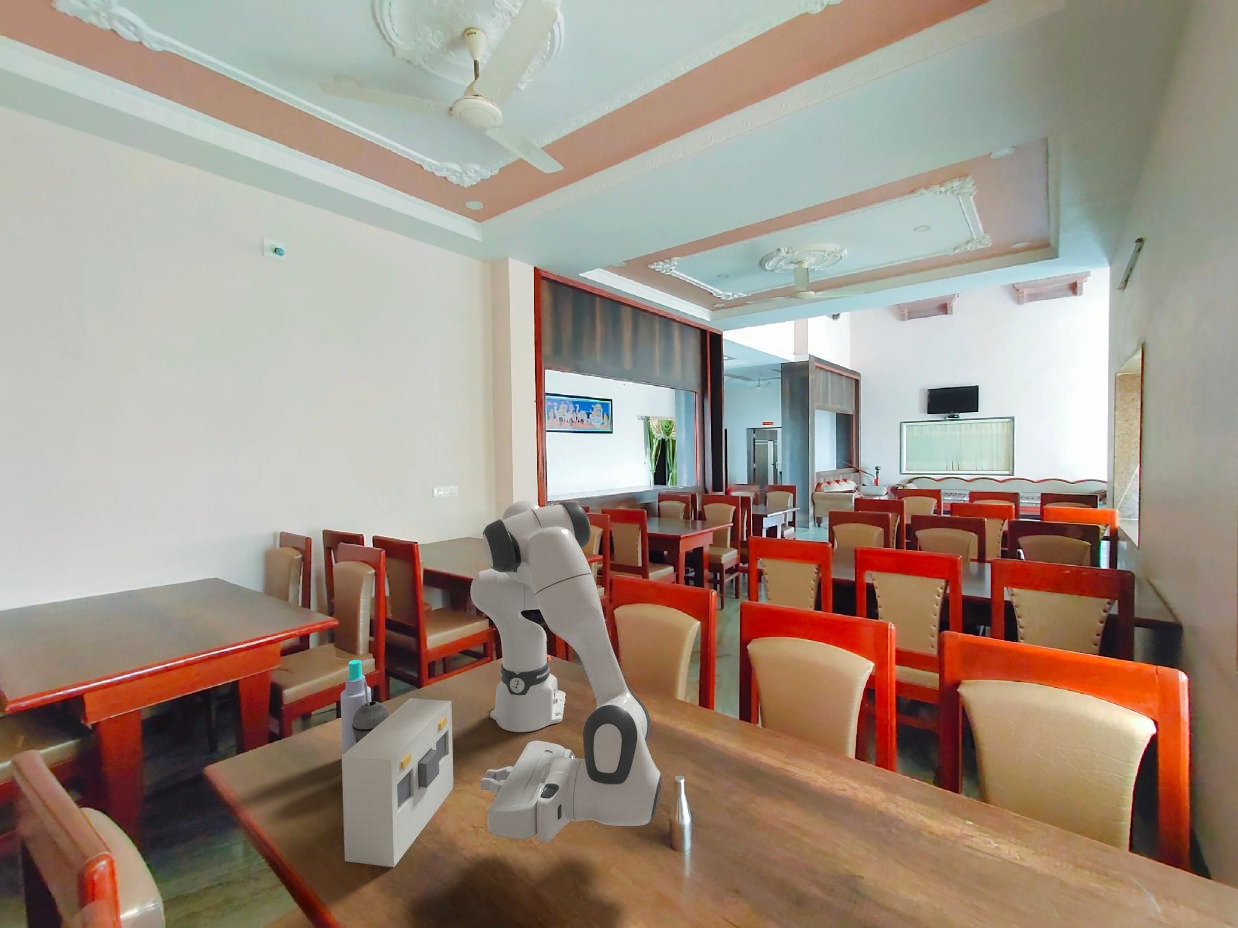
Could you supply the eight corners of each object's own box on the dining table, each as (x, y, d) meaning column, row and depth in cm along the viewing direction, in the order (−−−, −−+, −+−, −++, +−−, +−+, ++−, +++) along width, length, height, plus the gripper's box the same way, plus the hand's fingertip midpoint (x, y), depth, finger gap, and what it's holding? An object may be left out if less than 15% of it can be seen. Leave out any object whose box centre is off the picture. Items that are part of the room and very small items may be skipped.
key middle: (420, 771, 103) (420, 748, 103) (439, 773, 102) (438, 750, 102) (408, 785, 99) (407, 761, 99) (427, 787, 98) (426, 763, 98)
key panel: (412, 784, 113) (410, 698, 112) (455, 788, 111) (453, 701, 110) (344, 860, 92) (341, 755, 91) (396, 867, 90) (393, 760, 90)
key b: (428, 751, 110) (427, 729, 110) (445, 752, 109) (445, 731, 109) (416, 764, 105) (416, 741, 105) (434, 765, 105) (434, 743, 105)
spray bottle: (336, 763, 120) (333, 664, 119) (358, 749, 126) (356, 655, 125) (356, 769, 118) (353, 668, 117) (378, 754, 124) (376, 658, 123)
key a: (391, 792, 97) (390, 767, 97) (410, 793, 96) (409, 769, 96) (375, 808, 93) (375, 782, 92) (396, 810, 92) (395, 784, 92)
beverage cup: (377, 788, 111) (374, 691, 111) (345, 784, 113) (342, 688, 112) (398, 767, 119) (396, 676, 118) (368, 763, 120) (366, 673, 119)
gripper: (577, 734, 101) (506, 728, 103) (543, 809, 81) (455, 799, 83) (578, 768, 101) (506, 761, 103) (544, 851, 81) (456, 840, 83)
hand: (483, 778), depth 93 cm, fingers closed
